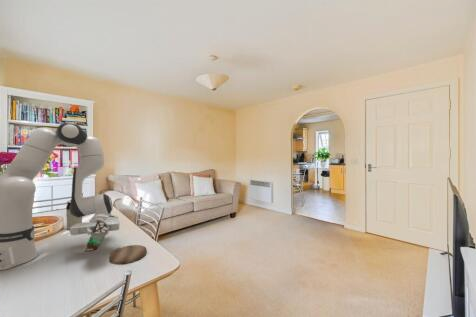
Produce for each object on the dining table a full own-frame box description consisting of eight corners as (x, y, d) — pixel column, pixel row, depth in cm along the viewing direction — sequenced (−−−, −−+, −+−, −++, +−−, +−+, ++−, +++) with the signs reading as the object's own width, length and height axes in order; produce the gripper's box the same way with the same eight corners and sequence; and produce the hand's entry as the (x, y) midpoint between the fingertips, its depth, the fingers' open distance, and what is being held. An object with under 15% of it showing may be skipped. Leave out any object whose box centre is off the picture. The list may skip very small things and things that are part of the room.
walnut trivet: (106, 267, 94) (106, 263, 94) (111, 251, 108) (111, 248, 108) (146, 259, 100) (146, 256, 100) (146, 245, 115) (146, 242, 115)
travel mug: (74, 230, 137) (73, 202, 137) (63, 229, 139) (62, 201, 138) (85, 226, 145) (84, 199, 144) (75, 225, 147) (74, 198, 146)
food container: (98, 256, 96) (107, 236, 95) (83, 253, 93) (91, 233, 93) (104, 240, 107) (112, 222, 106) (90, 237, 104) (98, 219, 104)
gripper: (74, 219, 108) (64, 228, 95) (121, 215, 116) (117, 223, 103) (74, 232, 108) (65, 242, 95) (120, 227, 116) (117, 236, 103)
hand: (92, 232), depth 99 cm, fingers closed on food container
